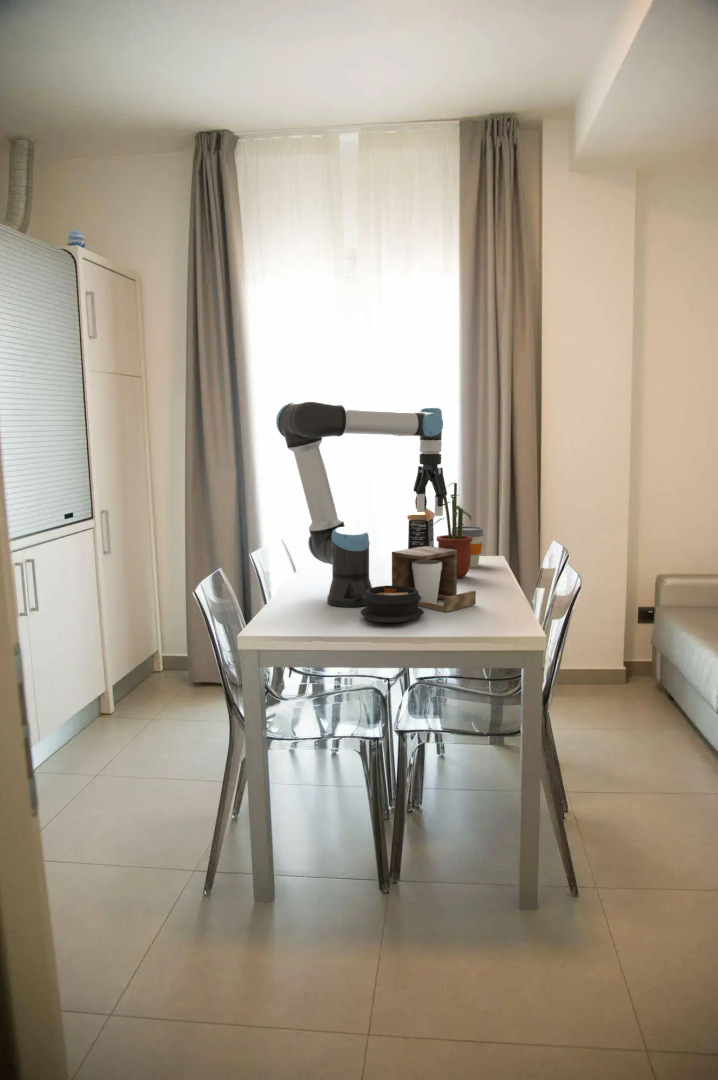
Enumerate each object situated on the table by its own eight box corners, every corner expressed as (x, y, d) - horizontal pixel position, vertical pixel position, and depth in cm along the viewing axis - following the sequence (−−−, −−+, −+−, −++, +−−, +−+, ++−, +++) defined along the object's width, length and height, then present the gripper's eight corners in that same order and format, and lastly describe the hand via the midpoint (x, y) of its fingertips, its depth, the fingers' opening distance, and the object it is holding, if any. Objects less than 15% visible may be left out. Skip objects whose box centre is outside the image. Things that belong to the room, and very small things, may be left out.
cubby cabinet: (422, 608, 249) (422, 556, 247) (392, 602, 258) (391, 551, 256) (456, 600, 260) (456, 550, 258) (426, 594, 269) (426, 546, 267)
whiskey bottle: (412, 558, 340) (412, 482, 336) (435, 559, 337) (435, 482, 333) (406, 562, 331) (405, 484, 326) (429, 564, 328) (429, 484, 323)
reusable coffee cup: (487, 564, 325) (488, 527, 323) (474, 569, 314) (475, 531, 312) (459, 562, 332) (459, 525, 329) (445, 566, 321) (445, 529, 319)
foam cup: (441, 599, 262) (442, 559, 260) (441, 605, 253) (442, 564, 251) (412, 598, 263) (412, 559, 261) (411, 605, 254) (411, 564, 252)
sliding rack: (446, 611, 243) (446, 598, 242) (397, 601, 257) (397, 588, 257) (475, 604, 252) (475, 591, 252) (426, 595, 267) (426, 582, 266)
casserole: (370, 607, 251) (370, 580, 250) (430, 610, 247) (430, 583, 246) (350, 627, 227) (350, 597, 226) (416, 630, 223) (416, 600, 222)
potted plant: (474, 580, 292) (475, 483, 287) (431, 580, 292) (431, 483, 287) (468, 571, 309) (469, 480, 304) (427, 572, 310) (428, 480, 305)
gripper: (457, 453, 271) (456, 517, 274) (423, 452, 294) (422, 510, 297) (438, 454, 268) (436, 517, 271) (404, 452, 291) (404, 511, 294)
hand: (429, 514), depth 284 cm, fingers open, 13 cm apart
